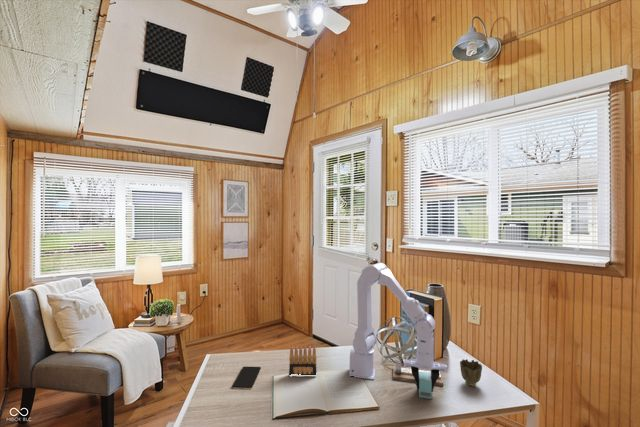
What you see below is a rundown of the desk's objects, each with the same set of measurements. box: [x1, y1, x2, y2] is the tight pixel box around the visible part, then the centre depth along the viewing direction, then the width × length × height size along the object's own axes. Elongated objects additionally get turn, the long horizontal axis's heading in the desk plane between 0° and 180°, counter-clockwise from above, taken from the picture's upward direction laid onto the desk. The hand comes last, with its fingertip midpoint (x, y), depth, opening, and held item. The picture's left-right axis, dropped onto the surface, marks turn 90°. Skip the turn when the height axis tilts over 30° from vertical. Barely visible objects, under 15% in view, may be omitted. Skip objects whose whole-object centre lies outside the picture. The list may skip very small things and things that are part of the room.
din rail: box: [395, 363, 442, 379], centre depth 122 cm, size 17×5×2 cm, turn 76°
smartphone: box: [231, 366, 262, 390], centre depth 120 cm, size 7×1×15 cm
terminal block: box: [418, 372, 433, 400], centre depth 110 cm, size 4×7×6 cm, turn 166°
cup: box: [459, 359, 483, 388], centre depth 116 cm, size 8×7×8 cm
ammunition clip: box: [288, 344, 317, 376], centre depth 122 cm, size 11×2×12 cm, turn 91°
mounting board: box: [392, 364, 444, 387], centre depth 122 cm, size 18×9×1 cm, turn 76°
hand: (424, 389), depth 111 cm, fingers closed on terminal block, 4 cm apart
